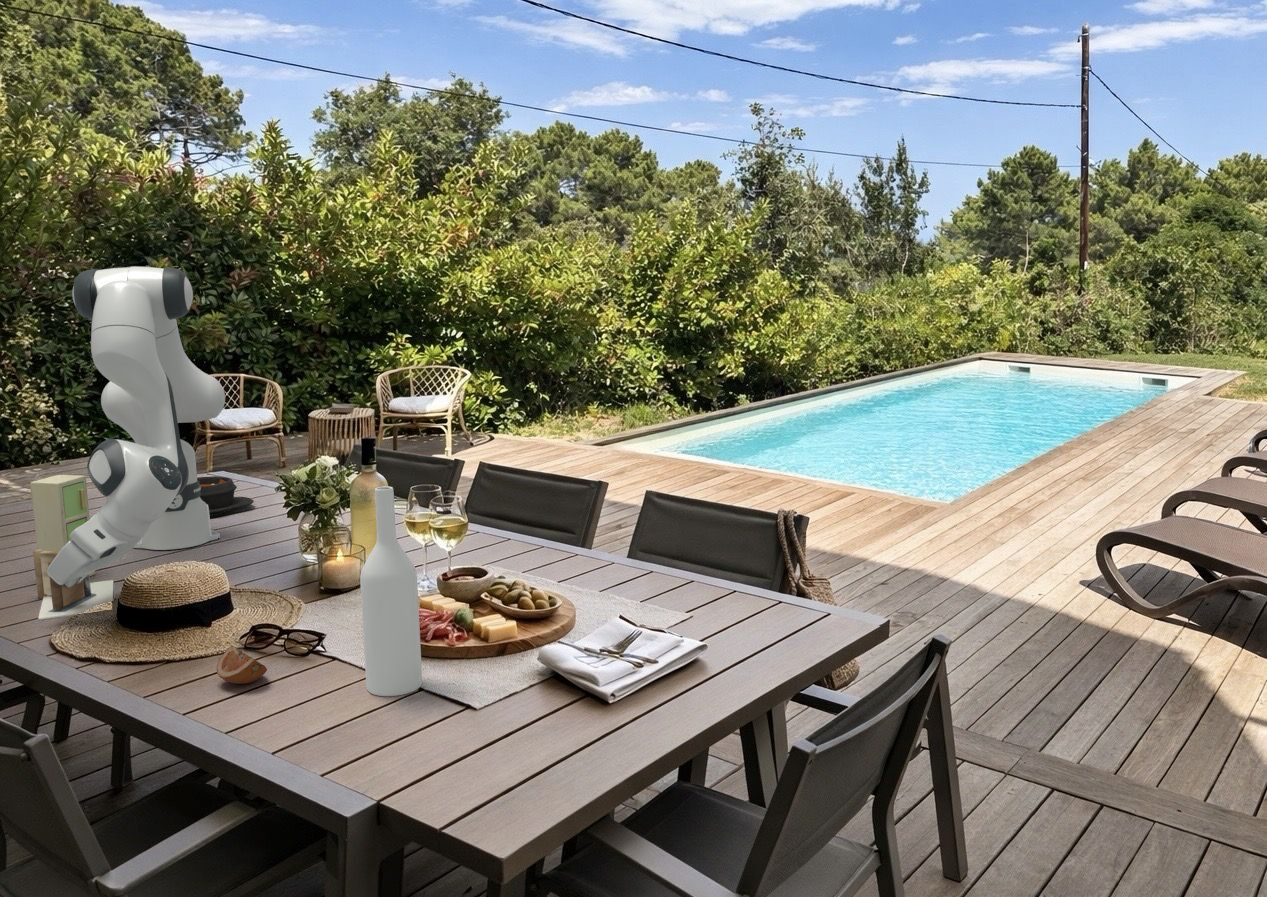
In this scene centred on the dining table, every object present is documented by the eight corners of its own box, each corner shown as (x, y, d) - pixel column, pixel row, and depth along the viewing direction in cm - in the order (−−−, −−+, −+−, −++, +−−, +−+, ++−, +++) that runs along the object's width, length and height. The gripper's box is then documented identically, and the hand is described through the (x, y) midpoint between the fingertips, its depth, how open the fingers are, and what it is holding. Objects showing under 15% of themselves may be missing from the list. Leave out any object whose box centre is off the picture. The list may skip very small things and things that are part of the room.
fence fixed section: (93, 596, 201) (88, 548, 200) (88, 599, 200) (83, 551, 198) (41, 595, 202) (36, 548, 201) (35, 598, 200) (30, 550, 199)
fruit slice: (276, 684, 156) (274, 653, 155) (232, 697, 152) (229, 664, 151) (253, 670, 162) (251, 639, 161) (210, 681, 158) (207, 650, 157)
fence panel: (77, 596, 199) (72, 551, 198) (86, 596, 199) (81, 551, 197) (50, 609, 191) (45, 563, 189) (59, 609, 191) (55, 563, 189)
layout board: (45, 589, 206) (45, 587, 206) (113, 581, 211) (113, 579, 211) (38, 620, 187) (38, 618, 187) (112, 610, 193) (112, 608, 193)
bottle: (371, 700, 149) (359, 495, 145) (362, 681, 157) (350, 485, 152) (427, 691, 153) (418, 490, 148) (416, 672, 160) (406, 480, 155)
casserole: (244, 500, 288) (242, 471, 287) (262, 512, 273) (259, 481, 271) (146, 512, 275) (143, 481, 273) (158, 526, 259) (155, 493, 258)
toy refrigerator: (71, 585, 209) (60, 482, 205) (39, 584, 210) (28, 481, 207) (99, 574, 216) (89, 475, 213) (68, 573, 218) (58, 474, 214)
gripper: (133, 507, 201) (91, 557, 204) (67, 532, 181) (21, 586, 183) (158, 529, 201) (115, 579, 204) (94, 556, 181) (48, 611, 184)
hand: (70, 583), depth 193 cm, fingers closed, pressing on fence panel
